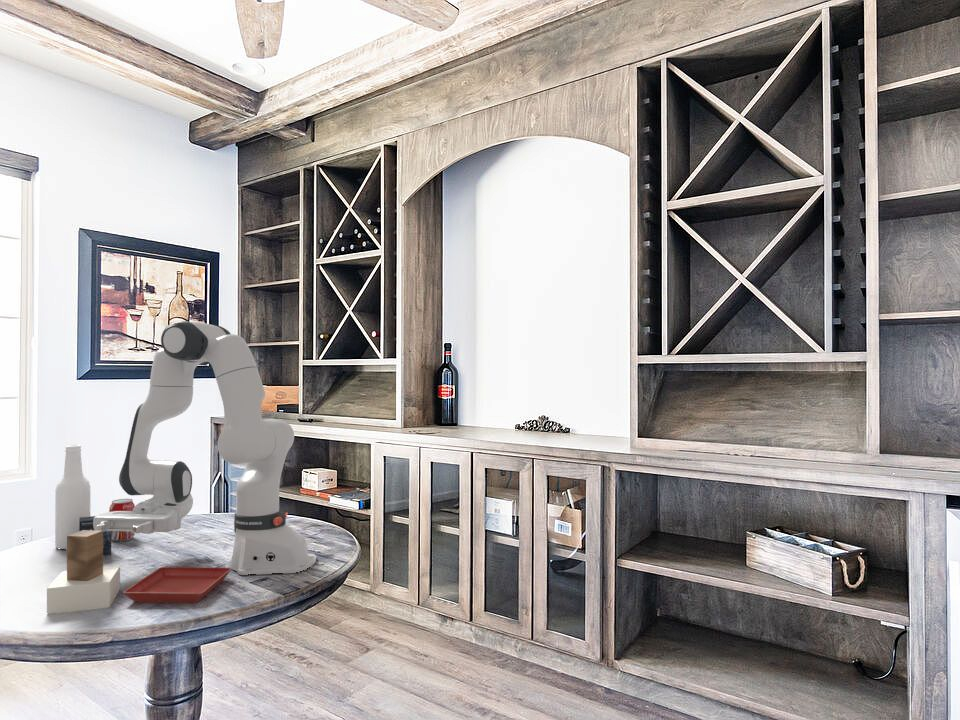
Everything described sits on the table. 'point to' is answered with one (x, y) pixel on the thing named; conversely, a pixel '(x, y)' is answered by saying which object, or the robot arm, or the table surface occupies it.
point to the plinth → (83, 592)
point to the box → (87, 524)
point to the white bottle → (71, 497)
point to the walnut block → (84, 555)
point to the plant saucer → (177, 584)
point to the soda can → (122, 506)
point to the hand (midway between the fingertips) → (117, 529)
